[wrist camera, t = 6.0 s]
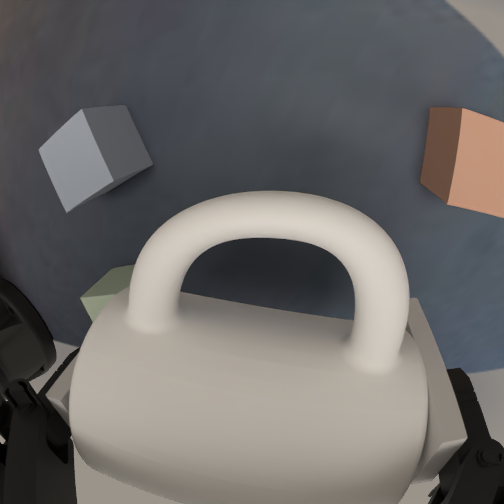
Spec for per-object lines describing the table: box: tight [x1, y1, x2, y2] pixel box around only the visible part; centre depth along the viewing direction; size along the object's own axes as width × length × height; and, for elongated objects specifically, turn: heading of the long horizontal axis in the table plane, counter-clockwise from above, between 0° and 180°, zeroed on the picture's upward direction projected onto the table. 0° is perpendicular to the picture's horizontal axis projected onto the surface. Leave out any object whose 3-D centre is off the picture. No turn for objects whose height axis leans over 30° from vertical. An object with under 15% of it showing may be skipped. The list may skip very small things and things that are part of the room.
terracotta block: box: [420, 107, 504, 218], centre depth 14 cm, size 5×5×5 cm
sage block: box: [80, 265, 135, 322], centre depth 24 cm, size 5×5×5 cm
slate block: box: [39, 105, 153, 213], centre depth 19 cm, size 5×5×5 cm
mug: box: [69, 191, 428, 504], centre depth 9 cm, size 12×10×8 cm
